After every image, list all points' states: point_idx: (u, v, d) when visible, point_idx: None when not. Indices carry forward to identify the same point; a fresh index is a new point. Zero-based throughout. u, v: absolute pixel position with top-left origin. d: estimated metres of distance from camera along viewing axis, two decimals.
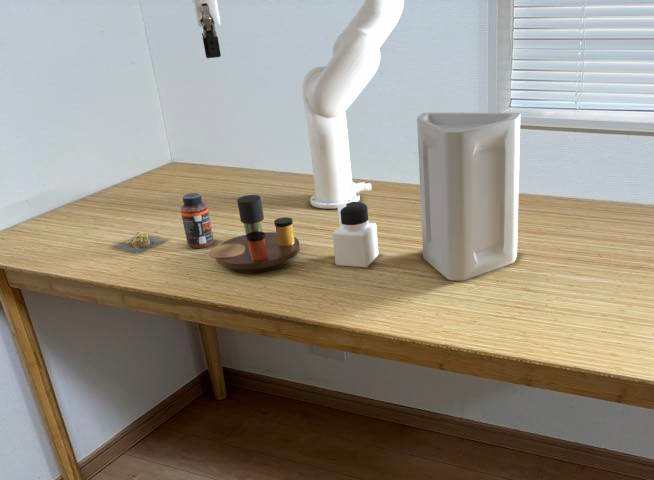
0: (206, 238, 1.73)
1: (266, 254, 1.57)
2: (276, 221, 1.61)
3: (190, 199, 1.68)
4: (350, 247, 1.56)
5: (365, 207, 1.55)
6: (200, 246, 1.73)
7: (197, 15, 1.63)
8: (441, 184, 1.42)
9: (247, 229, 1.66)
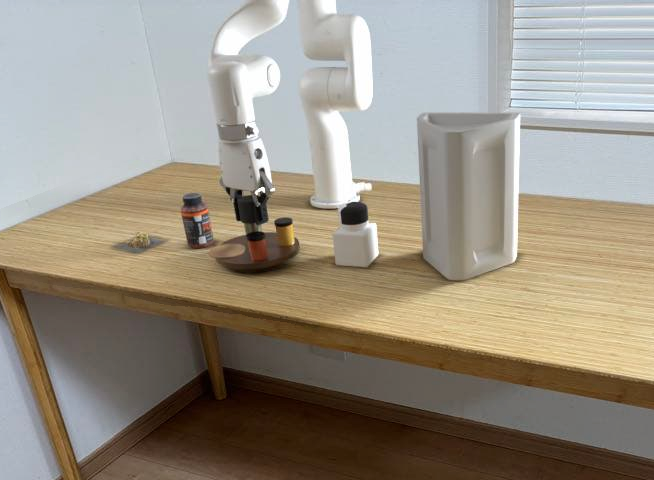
0: (206, 238, 1.73)
1: (266, 254, 1.57)
2: (276, 221, 1.61)
3: (190, 199, 1.68)
4: (350, 247, 1.56)
5: (365, 207, 1.55)
6: (200, 246, 1.73)
7: (255, 181, 1.52)
8: (441, 184, 1.42)
9: (247, 229, 1.66)
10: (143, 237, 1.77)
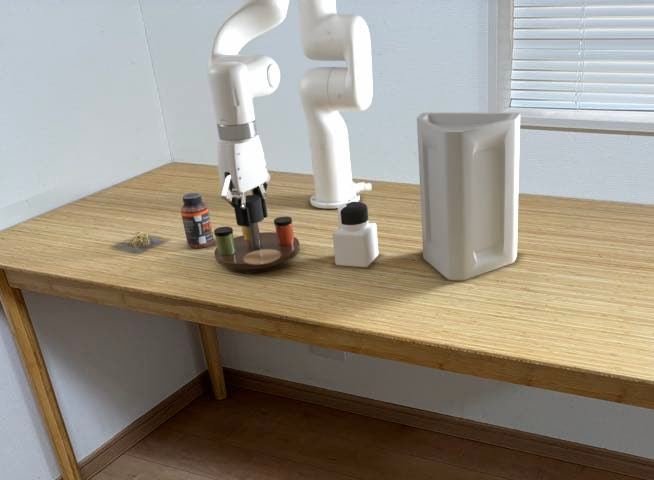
0: (206, 238, 1.73)
1: None
2: None
3: (190, 199, 1.68)
4: (350, 247, 1.56)
5: (365, 207, 1.55)
6: (200, 246, 1.73)
7: (266, 169, 1.58)
8: (441, 184, 1.42)
9: (232, 242, 1.60)
10: (143, 237, 1.77)
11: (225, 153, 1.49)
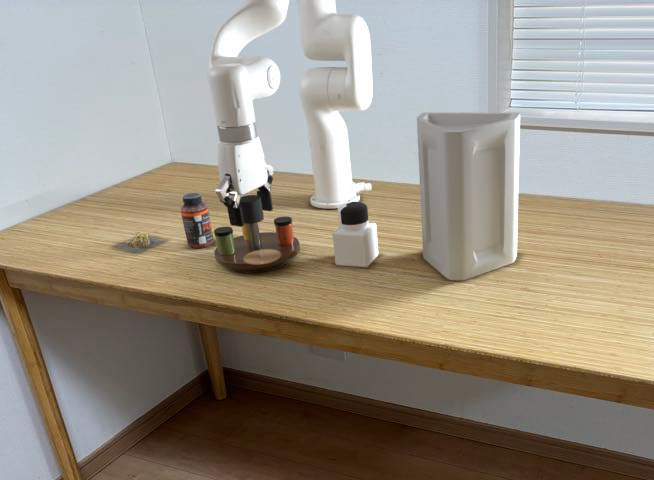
0: (206, 238, 1.73)
1: None
2: None
3: (190, 199, 1.68)
4: (350, 247, 1.56)
5: (365, 207, 1.55)
6: (200, 246, 1.73)
7: (266, 171, 1.58)
8: (441, 184, 1.42)
9: (232, 242, 1.60)
10: (143, 237, 1.77)
11: (225, 155, 1.49)
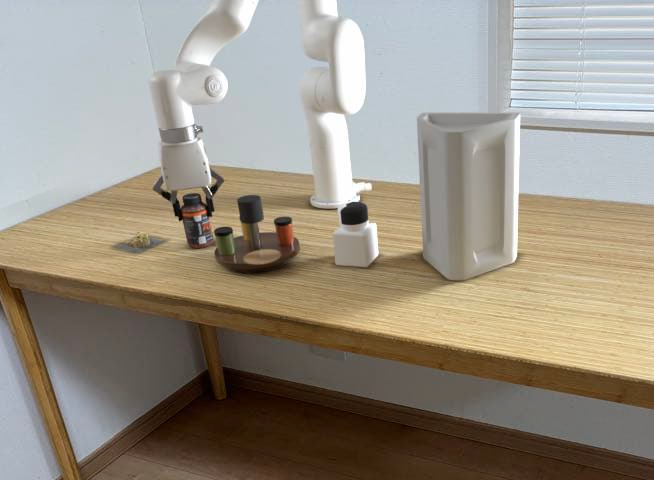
0: (206, 238, 1.73)
1: None
2: None
3: (190, 199, 1.68)
4: (350, 247, 1.56)
5: (365, 207, 1.55)
6: (200, 246, 1.73)
7: (209, 175, 1.66)
8: (441, 184, 1.42)
9: (232, 242, 1.60)
10: (143, 237, 1.77)
11: (159, 152, 1.63)
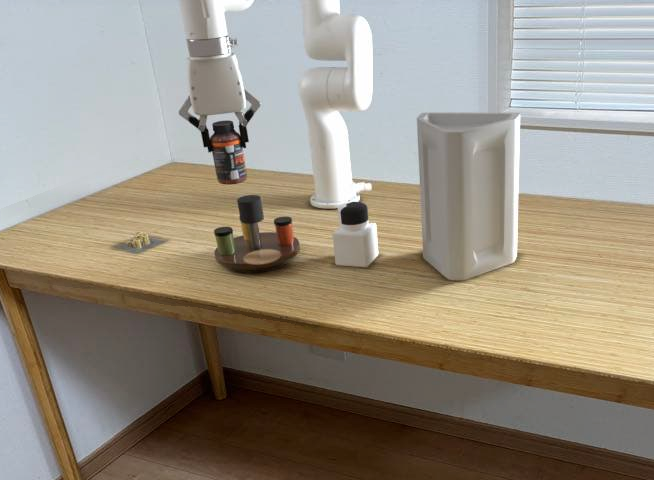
0: (239, 173, 1.51)
1: None
2: None
3: (221, 126, 1.46)
4: (350, 247, 1.56)
5: (365, 207, 1.55)
6: (232, 182, 1.51)
7: (244, 97, 1.44)
8: (441, 184, 1.42)
9: (232, 242, 1.60)
10: (143, 237, 1.77)
11: (186, 69, 1.41)
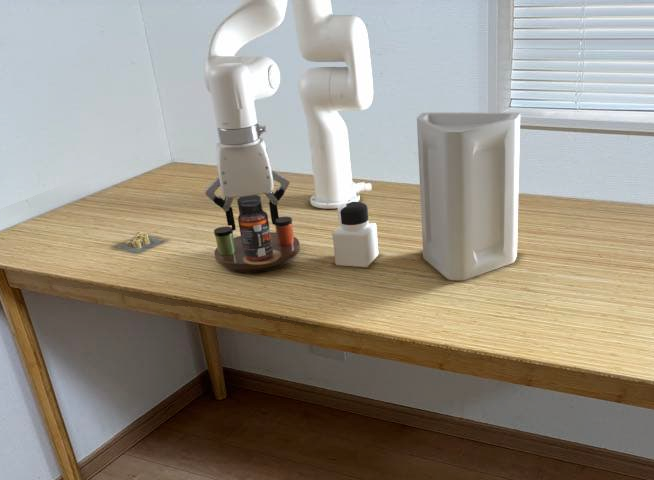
0: (266, 250, 1.55)
1: None
2: None
3: (249, 207, 1.51)
4: (350, 247, 1.56)
5: (365, 207, 1.55)
6: (259, 259, 1.55)
7: (271, 180, 1.49)
8: (441, 184, 1.42)
9: (232, 242, 1.60)
10: (143, 237, 1.77)
11: (216, 154, 1.46)
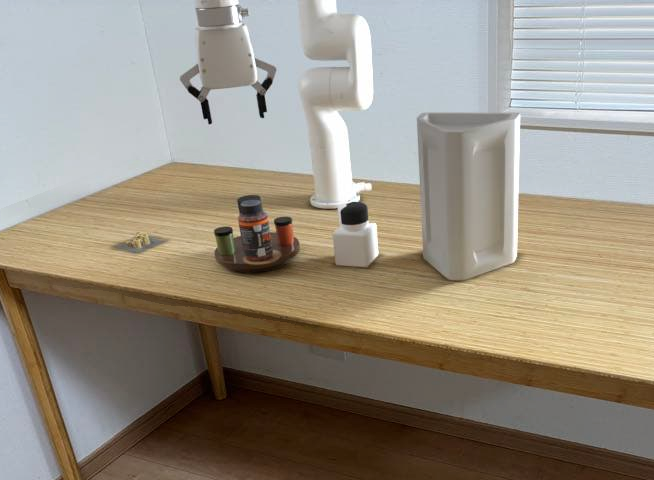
0: (266, 250, 1.55)
1: None
2: None
3: (249, 207, 1.51)
4: (350, 247, 1.56)
5: (365, 207, 1.55)
6: (259, 259, 1.55)
7: (255, 70, 1.38)
8: (441, 184, 1.42)
9: (232, 242, 1.60)
10: (143, 237, 1.77)
11: (195, 40, 1.35)
